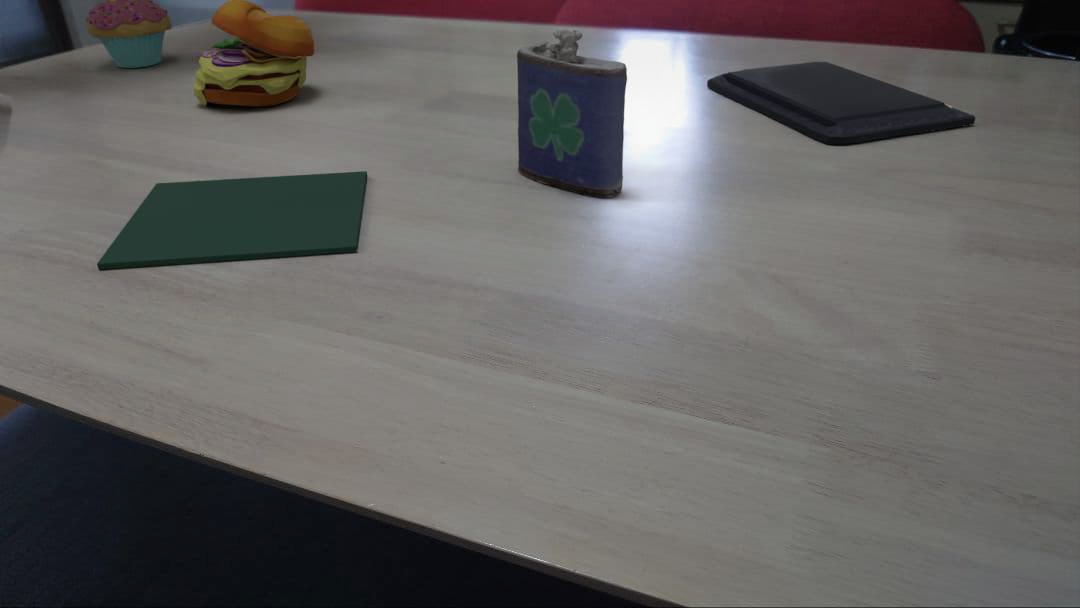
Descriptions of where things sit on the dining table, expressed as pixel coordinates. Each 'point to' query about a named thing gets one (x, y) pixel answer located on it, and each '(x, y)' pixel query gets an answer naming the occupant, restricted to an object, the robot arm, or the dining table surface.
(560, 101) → the flask
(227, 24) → the cheeseburger
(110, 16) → the cupcake
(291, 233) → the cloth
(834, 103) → the wallet
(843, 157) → the dining table surface
